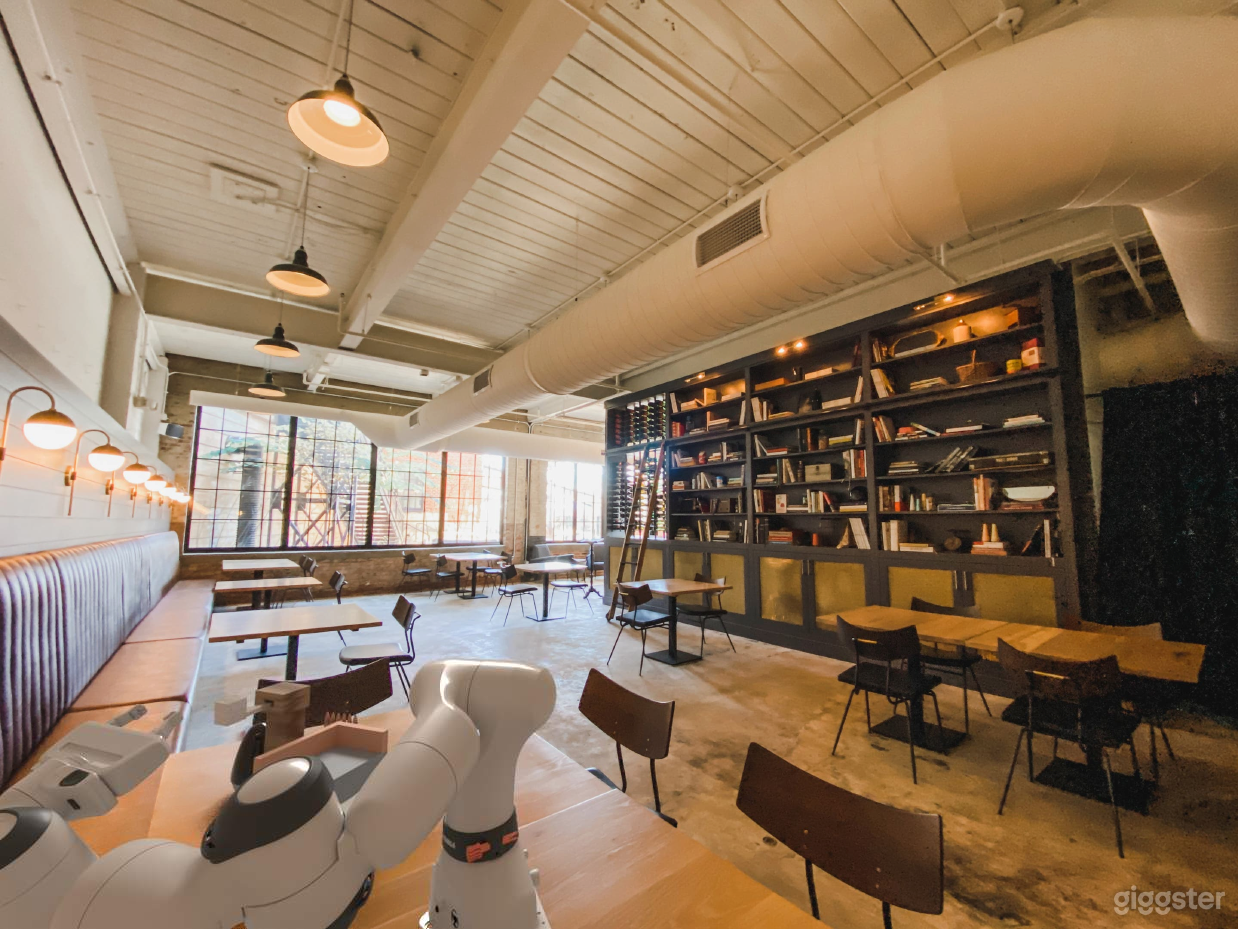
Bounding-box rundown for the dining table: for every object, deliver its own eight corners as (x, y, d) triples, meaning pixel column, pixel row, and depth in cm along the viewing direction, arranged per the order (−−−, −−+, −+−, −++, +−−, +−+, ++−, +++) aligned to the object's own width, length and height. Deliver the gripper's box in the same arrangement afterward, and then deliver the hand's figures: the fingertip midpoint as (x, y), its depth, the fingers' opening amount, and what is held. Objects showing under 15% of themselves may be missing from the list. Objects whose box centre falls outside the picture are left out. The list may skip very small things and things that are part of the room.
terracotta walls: (307, 794, 87) (308, 769, 87) (252, 781, 91) (254, 758, 92) (387, 750, 104) (388, 729, 104) (337, 740, 108) (338, 721, 109)
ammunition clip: (319, 759, 135) (321, 712, 136) (324, 756, 137) (327, 710, 138) (353, 763, 133) (356, 715, 134) (358, 760, 135) (361, 713, 136)
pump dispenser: (222, 806, 113) (228, 735, 115) (235, 784, 122) (240, 718, 124) (277, 796, 117) (281, 727, 119) (285, 776, 126) (289, 712, 128)
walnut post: (280, 850, 98) (290, 695, 101) (237, 837, 102) (248, 689, 105) (317, 827, 105) (325, 683, 108) (276, 816, 109) (285, 678, 112)
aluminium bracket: (226, 726, 93) (227, 704, 94) (214, 724, 95) (214, 702, 95) (299, 696, 107) (300, 677, 107) (287, 694, 108) (288, 675, 109)
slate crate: (301, 899, 85) (307, 794, 87) (245, 880, 89) (252, 781, 91) (383, 836, 102) (387, 750, 104) (333, 823, 106) (337, 740, 108)
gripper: (32, 791, 79) (132, 716, 91) (114, 816, 72) (209, 732, 84) (7, 763, 76) (113, 690, 88) (89, 786, 69) (191, 704, 81)
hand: (161, 710), depth 86 cm, fingers open, 8 cm apart
